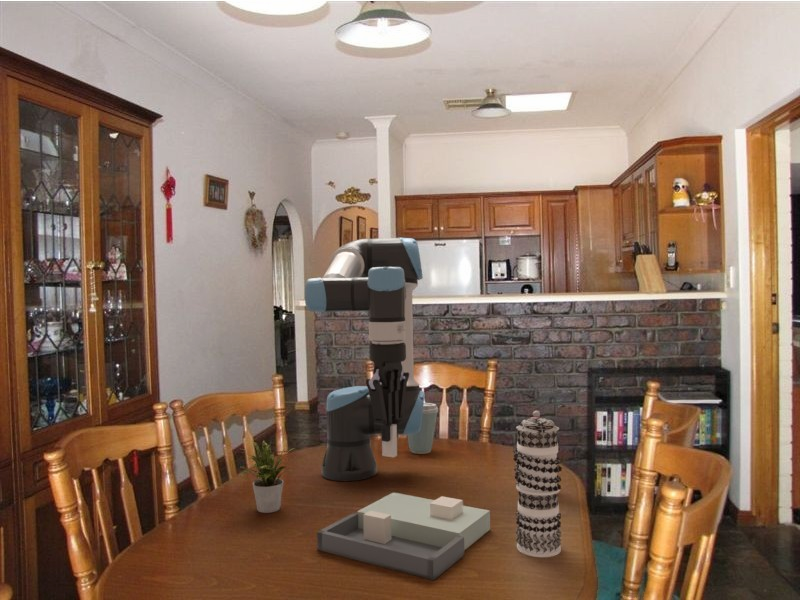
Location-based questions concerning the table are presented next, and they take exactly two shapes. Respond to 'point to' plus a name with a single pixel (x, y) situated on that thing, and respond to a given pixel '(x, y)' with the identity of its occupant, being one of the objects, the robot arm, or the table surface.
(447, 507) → the tile
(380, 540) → the tile
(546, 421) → the black and white jar
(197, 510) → the table surface
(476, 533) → the board
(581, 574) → the table surface
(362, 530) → the tray
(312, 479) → the table surface
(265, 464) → the house plant
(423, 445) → the disposable coffee cup
